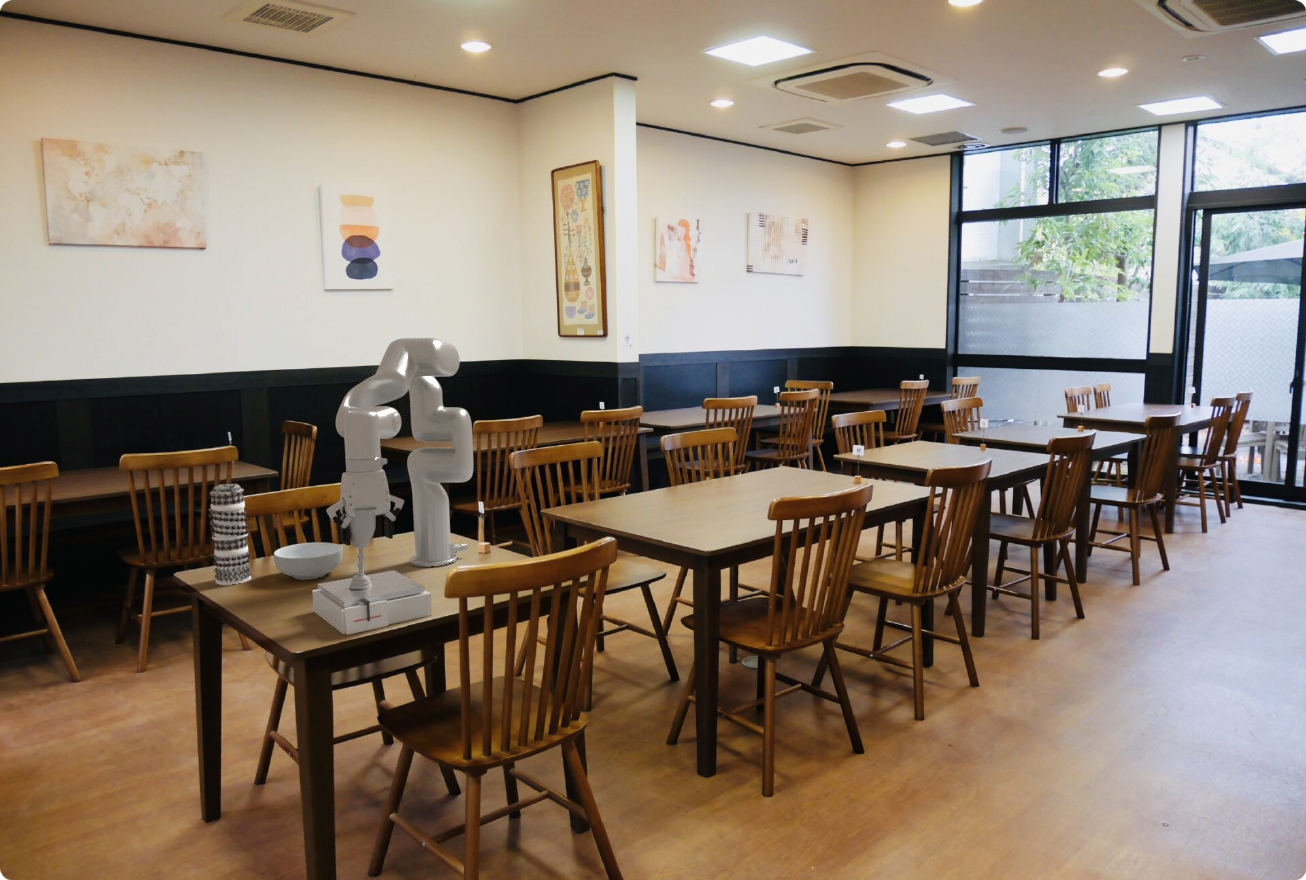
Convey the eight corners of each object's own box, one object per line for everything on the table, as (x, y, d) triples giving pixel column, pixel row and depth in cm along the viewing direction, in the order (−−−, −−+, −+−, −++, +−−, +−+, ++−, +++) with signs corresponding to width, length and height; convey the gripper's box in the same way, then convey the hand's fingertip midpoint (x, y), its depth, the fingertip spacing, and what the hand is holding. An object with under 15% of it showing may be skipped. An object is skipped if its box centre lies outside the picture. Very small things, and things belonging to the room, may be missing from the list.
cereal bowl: (298, 588, 231) (296, 560, 230) (262, 578, 241) (260, 551, 240) (357, 573, 244) (355, 547, 244) (320, 564, 254) (318, 538, 254)
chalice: (383, 584, 210) (384, 506, 208) (365, 591, 204) (365, 511, 202) (356, 580, 213) (357, 503, 211) (337, 587, 206) (337, 508, 204)
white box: (395, 594, 222) (393, 570, 222) (431, 615, 206) (429, 589, 205) (319, 608, 212) (317, 583, 211) (350, 632, 195) (349, 605, 194)
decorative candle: (207, 581, 239) (199, 485, 235) (243, 573, 245) (236, 480, 242) (223, 587, 232) (215, 489, 229) (259, 579, 239) (252, 484, 236)
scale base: (397, 594, 224) (396, 572, 223) (433, 616, 207) (432, 591, 207) (313, 611, 212) (312, 587, 211) (345, 635, 195) (343, 609, 195)
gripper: (394, 459, 214) (398, 532, 216) (319, 468, 204) (323, 544, 206) (407, 463, 208) (411, 538, 210) (330, 472, 198) (335, 550, 200)
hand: (368, 540), depth 208 cm, fingers open, 9 cm apart
